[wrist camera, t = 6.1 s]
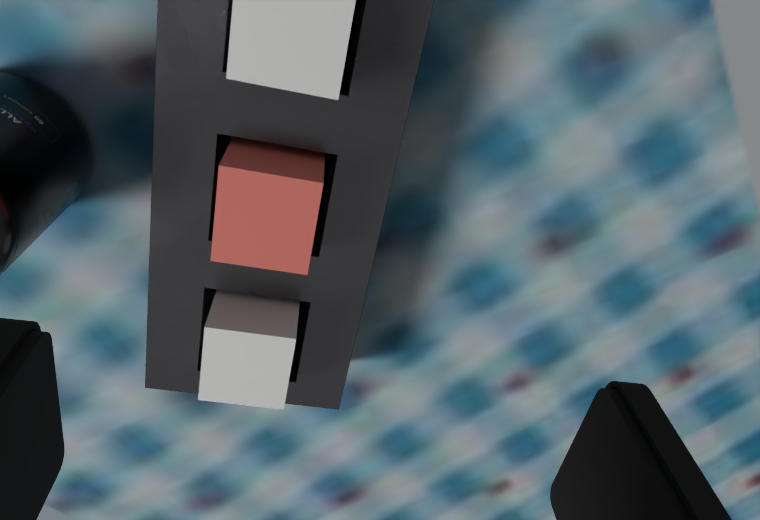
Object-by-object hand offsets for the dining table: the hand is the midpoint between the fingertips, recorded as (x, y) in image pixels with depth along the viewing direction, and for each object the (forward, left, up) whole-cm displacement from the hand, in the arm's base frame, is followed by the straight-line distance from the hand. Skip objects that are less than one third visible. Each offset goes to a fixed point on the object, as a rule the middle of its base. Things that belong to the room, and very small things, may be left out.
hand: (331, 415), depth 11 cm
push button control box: (+2, -2, -21) cm, 21 cm away
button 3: (+11, -2, -20) cm, 23 cm away
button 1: (-4, -2, -20) cm, 21 cm away
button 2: (+4, -2, -20) cm, 21 cm away
